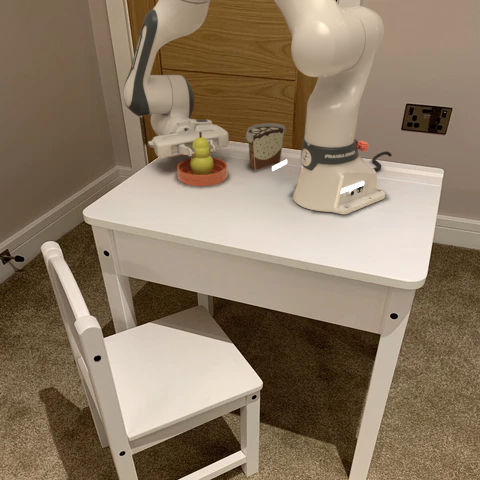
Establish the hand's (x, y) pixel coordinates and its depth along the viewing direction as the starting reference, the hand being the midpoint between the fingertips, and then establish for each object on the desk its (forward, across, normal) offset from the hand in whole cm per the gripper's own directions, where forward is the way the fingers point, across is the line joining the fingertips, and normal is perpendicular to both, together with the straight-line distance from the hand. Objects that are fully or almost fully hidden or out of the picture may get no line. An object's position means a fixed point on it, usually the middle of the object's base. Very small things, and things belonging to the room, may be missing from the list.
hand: (202, 151), depth 124 cm
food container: (-2, +18, +7) cm, 19 cm away
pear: (-1, 0, +7) cm, 7 cm away
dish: (-1, 0, +7) cm, 7 cm away
